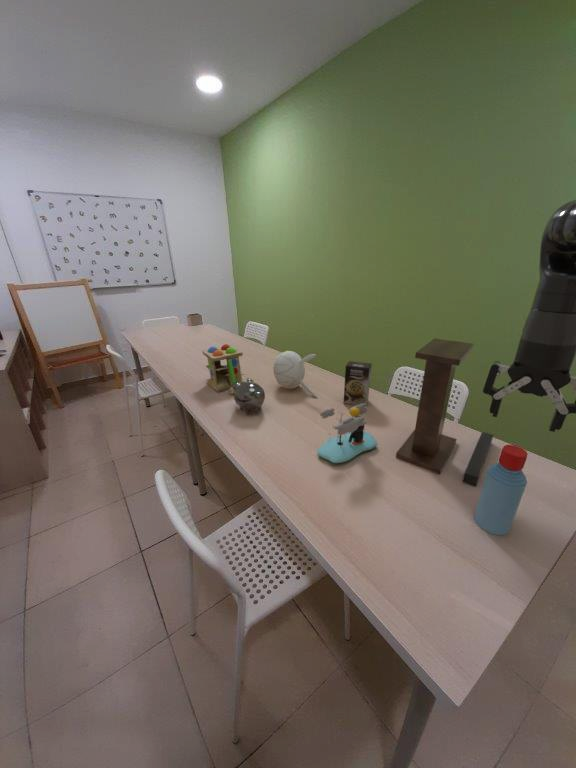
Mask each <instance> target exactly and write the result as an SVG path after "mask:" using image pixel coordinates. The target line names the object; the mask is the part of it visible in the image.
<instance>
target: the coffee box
mask: <svg viewBox="0 0 576 768" xmlns="http://www.w3.org/2000/svg"><path fill="white" fill-rule="evenodd" d="M372 367H373V364H372V363H371V362H362V361H352V360H349V361H347V363H346V365H345V370H344V371H345V372H344V387H343V404H346V405H352V406H356V405H360V404H363V403H365V404H366V405H367V404H368V402H369V395H370V386H371V385H370V384H371V374H372Z"/></svg>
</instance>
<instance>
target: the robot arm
mask: <svg viewBox="0 0 576 768" xmlns="http://www.w3.org/2000/svg"><path fill="white" fill-rule="evenodd" d="M539 249H540V251H539V265H538V268H539V269H538V270H539V281H538V284H537V287H536V290H535V293H534V297H533V300H532V304H531V308H530V310H529V312H528V314H527V317H526V319H525V322H524V325H523V327H522V331H521V335H520V339H519V342H518V346H517V349H516V353H515V356H514V360H513V363H512V364H511V365H506V364H504V363H503V364H502V363H501V362H500V361H497V360H495V361H493V362H492V364H491V366H490V368H489V371H488V374H487V377H486V380H485V383H484V386H483V389H482V393H483V394H484V395H488V396H490V397H491V399H492V400H491V403H490V407H489V413H490V414H492V417H494V418H497V417H498V415H499V411H500V407H501V404H502V400H503V398H504V397H506V396H507V395H510V394H512V393H513V392H515V391H519V392H520V393H521V394H525V395H527V394H529V395H531V394H532V395H534V396H536V397H541V398H544V397H546V396H548V398H549V400H550V401H551V402H552V404H554V406H555V409H554V413H553V415H552V418H551V421H550V424H549V427H548V429H549V430H548V431H549V432H551V433H555V431H559V430H561V429H562V427H563V425H564V422H565V421H566V417H567V415H569V414H576V399H575V400H574V403H568V402H567V401H566V399H565V397H564V395H563V393H562V391H561V390H560V389H562V388H564V387H566V386H567V385H569V384H572V385H573V390H574V391H576V376H574V375H571V373H570V372H571V369H572V365H573V363H574V361H575V357H576V199H573V200H570V201H567V202H566V203H564V204H563V205H560V207H558V208H557V209H556V210H555V211H554V212H553V214H551V216H550V217H549V219H548V221H547V223H546V225H545V226H544V230H543V232H542V235H541V241H540V248H539ZM504 373H507V374H508V377H509V378H510V380H509V381H507V382H506V383H505V384H503V385H502V386H500V387H498V388H496V387H494V385H495V381H496V379H497V377H501V376H503V374H504Z"/></svg>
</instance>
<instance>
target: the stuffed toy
mask: <svg viewBox="0 0 576 768" xmlns="http://www.w3.org/2000/svg"><path fill="white" fill-rule="evenodd" d="M316 356H317V353H310V354H308V355H306V356H305V357H303V358H302V357H301V356H300V355H299V354H298V353H296V352H295V351H292V350H285V351H283V352H281V353H280V354H279V355H278V356H277V357H276V359H275V361H274V364H273V375H274V378H275V380H276V382H277V384H278V385H279V386H281V387H282V388H283V389H287V390H293V389H295V388H298V387H299V386H300V385H302V387H303V388H304V389H305V391H306V392H307V393H308V394H310V396H312V397H313V398H316V399H318V396H317V394H316V392H314V391H313V390H312V388H311V387H309V385H308V384H306V383H305V382H304V381H303V380H304V379H305V373H306V367H305V363H307V362H309V361H311V360H313V359H314V358H315V357H316Z"/></svg>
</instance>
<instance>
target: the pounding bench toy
mask: <svg viewBox="0 0 576 768" xmlns="http://www.w3.org/2000/svg"><path fill="white" fill-rule="evenodd" d="M202 355H203V356H204V357H206V358H207V363H208V364H206V365H205V368H207V370H209V377H210V378H207V379H206V383H207V382H208V383H207V384H208V385H209V386H210V387H211V388H212V389H213V390H214V391H215V392H216V393H221V392H225V391H228V392H229V395H232V396H234V391H235V390H234V389H233V383H235V382H238V383H242V382H246V381H247V380H244V379H243V378H242V376H244V375H245V374H244V373H243V372H242V371H241V365H240V357H243V355H244V354H243V351H241V350H240V349H238V348H236V347H234V346H233V345H230V344H223V345H221V346H220V347H216V346H210V347H209V348H208V349H204V350H202ZM224 360H226V364H221V363H222V362H221V361H224Z"/></svg>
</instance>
